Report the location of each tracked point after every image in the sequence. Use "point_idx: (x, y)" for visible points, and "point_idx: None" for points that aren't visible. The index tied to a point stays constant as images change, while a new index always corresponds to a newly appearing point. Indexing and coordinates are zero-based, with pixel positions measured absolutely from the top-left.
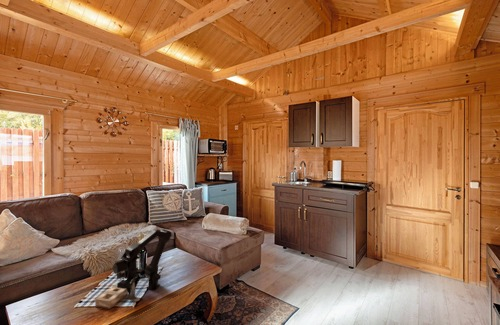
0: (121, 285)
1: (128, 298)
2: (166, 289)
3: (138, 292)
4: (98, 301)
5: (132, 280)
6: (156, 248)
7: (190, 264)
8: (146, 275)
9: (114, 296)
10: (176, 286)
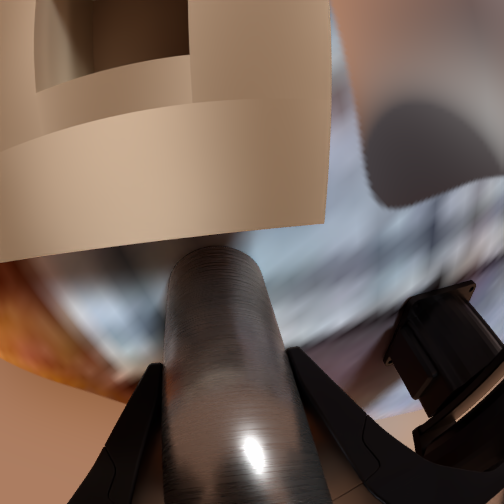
0: None
1: (171, 276)
2: (383, 394)
3: (350, 268)
4: None
5: (371, 502)
6: None
7: None
8: (476, 449)
9: None
10: (406, 401)
